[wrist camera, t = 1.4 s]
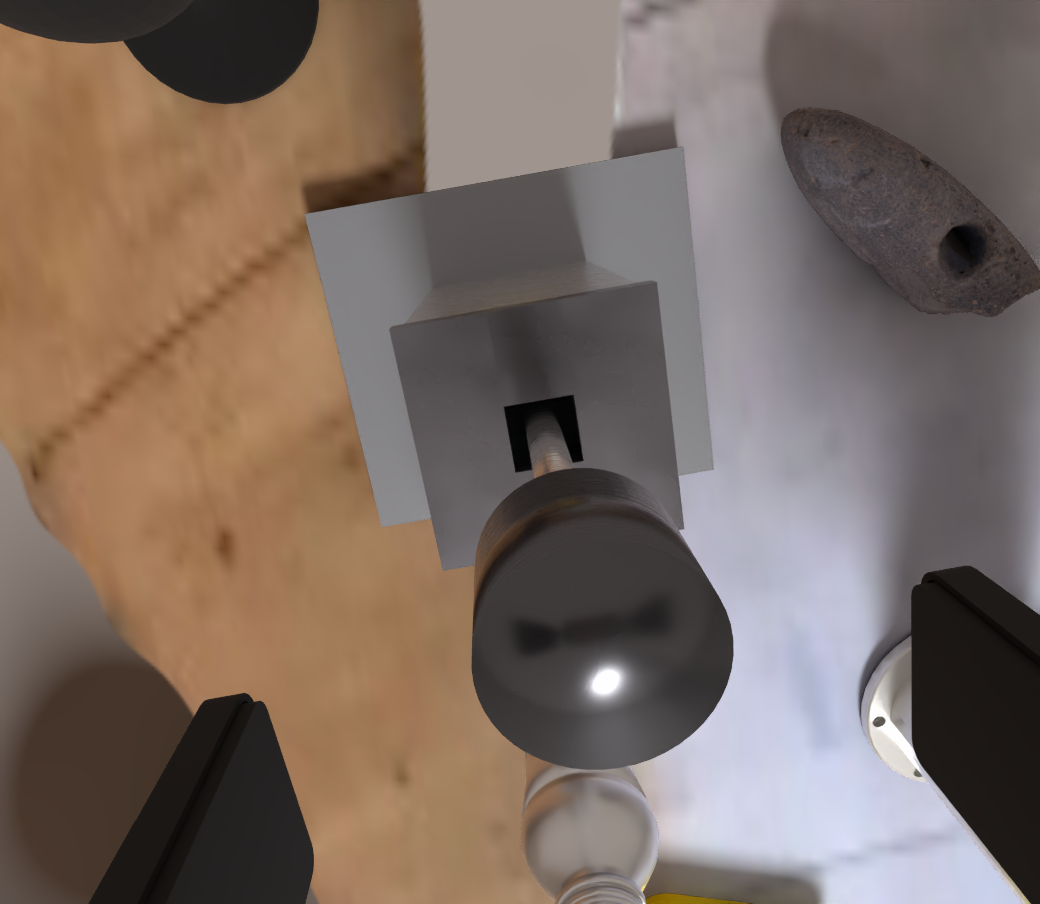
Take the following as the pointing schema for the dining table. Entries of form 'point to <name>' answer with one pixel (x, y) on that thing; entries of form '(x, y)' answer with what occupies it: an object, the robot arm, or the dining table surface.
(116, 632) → the dining table surface
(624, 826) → the plastic bottle
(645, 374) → the grey block
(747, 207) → the dining table surface
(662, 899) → the element tile
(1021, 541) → the dining table surface
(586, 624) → the dark grey cylinder
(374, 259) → the grey board
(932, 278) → the perforated stone tool
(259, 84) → the wine glass
